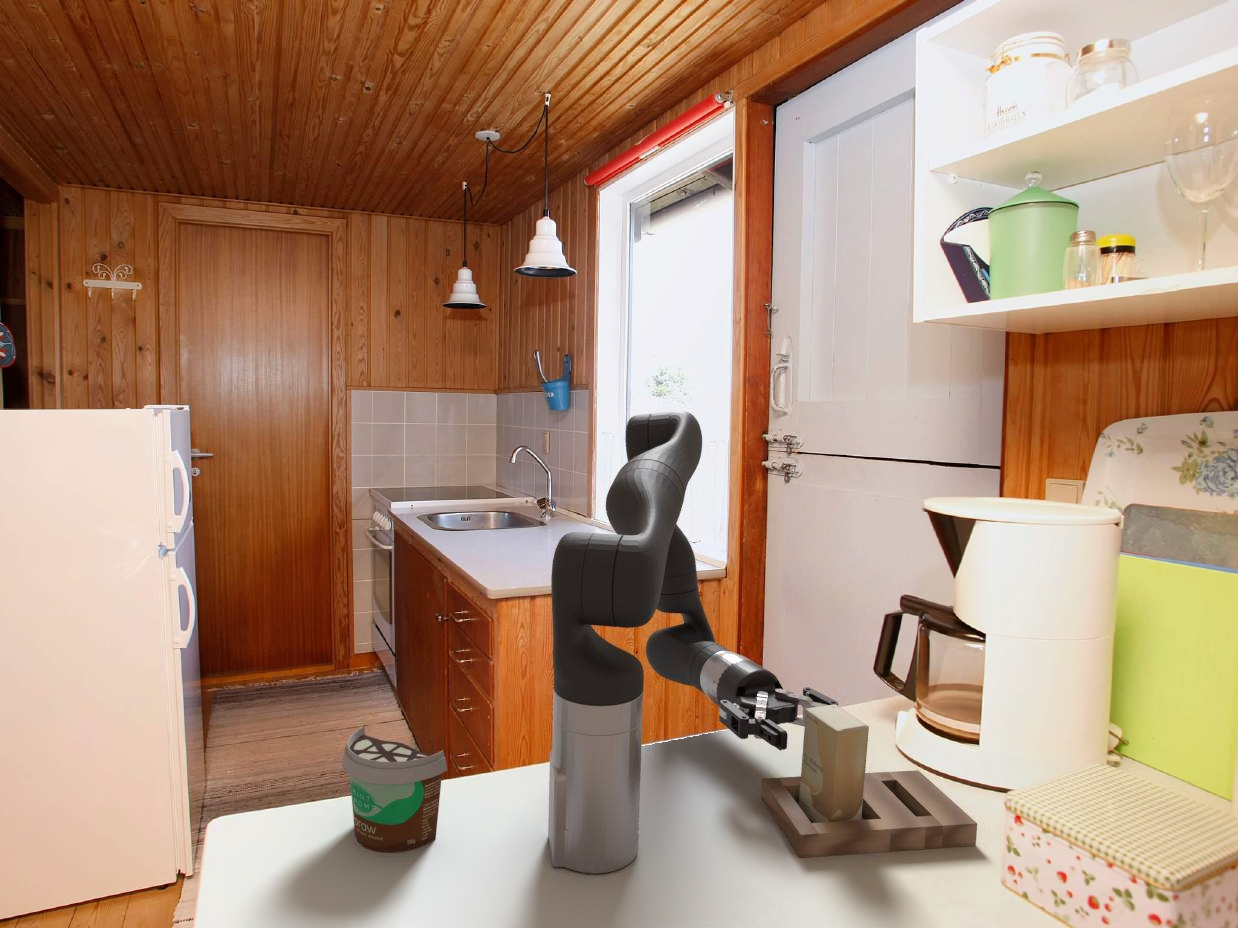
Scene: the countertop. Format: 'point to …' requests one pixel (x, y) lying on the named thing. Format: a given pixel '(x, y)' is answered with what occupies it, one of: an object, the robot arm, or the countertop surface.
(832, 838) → the socket plate
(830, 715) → the skincare box
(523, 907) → the countertop surface
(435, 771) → the food container
